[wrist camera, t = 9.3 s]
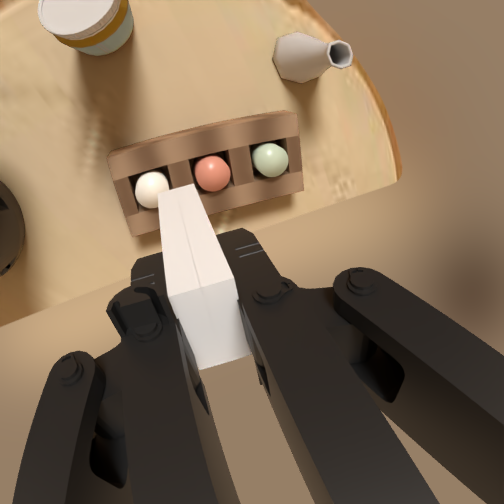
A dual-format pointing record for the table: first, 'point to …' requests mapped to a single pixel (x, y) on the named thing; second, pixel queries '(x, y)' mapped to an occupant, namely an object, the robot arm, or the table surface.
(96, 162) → the table surface
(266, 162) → the button sage
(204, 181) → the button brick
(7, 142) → the table surface
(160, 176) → the button ivory
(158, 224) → the console
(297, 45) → the flask
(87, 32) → the bottle
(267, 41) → the table surface
